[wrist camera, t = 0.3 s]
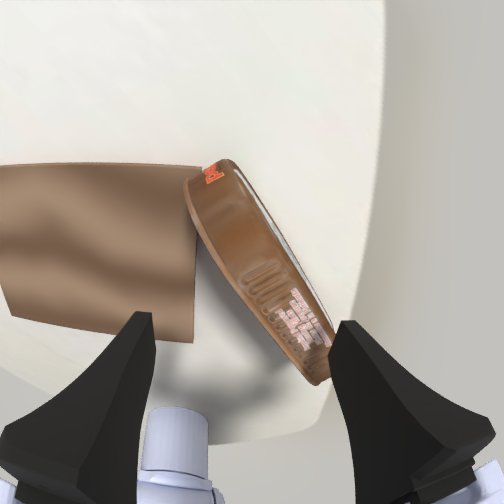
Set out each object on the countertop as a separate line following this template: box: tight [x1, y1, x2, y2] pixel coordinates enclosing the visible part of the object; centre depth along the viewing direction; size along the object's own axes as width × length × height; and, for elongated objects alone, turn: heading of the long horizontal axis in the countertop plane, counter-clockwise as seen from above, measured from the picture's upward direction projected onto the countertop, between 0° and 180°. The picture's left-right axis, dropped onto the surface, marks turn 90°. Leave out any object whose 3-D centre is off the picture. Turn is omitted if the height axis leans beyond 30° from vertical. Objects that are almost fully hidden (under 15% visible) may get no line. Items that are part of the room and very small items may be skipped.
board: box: [0, 163, 202, 343], centre depth 20 cm, size 14×18×1 cm
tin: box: [183, 159, 336, 386], centre depth 17 cm, size 15×3×8 cm, turn 30°
